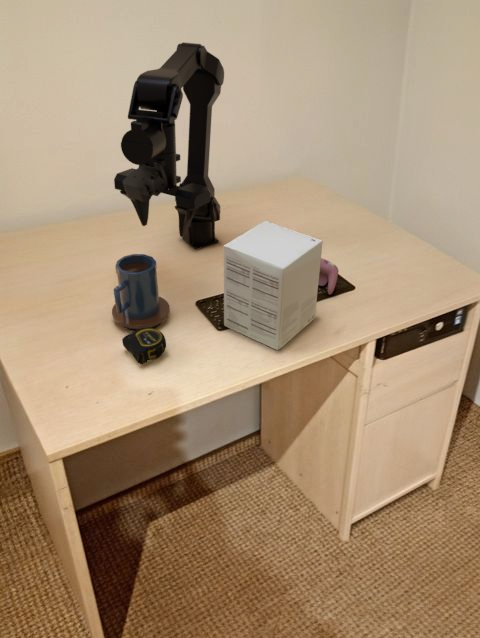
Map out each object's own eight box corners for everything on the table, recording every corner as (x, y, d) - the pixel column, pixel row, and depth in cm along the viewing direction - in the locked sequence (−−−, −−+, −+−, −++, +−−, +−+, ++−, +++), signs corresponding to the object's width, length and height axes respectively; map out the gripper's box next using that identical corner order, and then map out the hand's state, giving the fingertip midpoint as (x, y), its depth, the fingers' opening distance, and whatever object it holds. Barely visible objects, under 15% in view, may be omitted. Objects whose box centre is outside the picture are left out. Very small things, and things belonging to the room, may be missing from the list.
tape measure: (122, 350, 111) (119, 333, 109) (156, 337, 114) (154, 321, 112) (138, 370, 107) (136, 353, 104) (173, 357, 110) (172, 340, 107)
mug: (136, 291, 124) (130, 243, 118) (180, 306, 120) (178, 258, 114) (96, 320, 116) (88, 271, 109) (143, 338, 112) (138, 288, 105)
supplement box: (261, 296, 127) (264, 219, 116) (316, 319, 121) (324, 239, 110) (222, 326, 118) (221, 245, 107) (278, 351, 112) (283, 269, 101)
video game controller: (335, 294, 131) (342, 261, 130) (332, 295, 127) (338, 262, 125) (291, 285, 133) (297, 253, 132) (286, 286, 129) (292, 253, 128)
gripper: (89, 149, 109) (98, 232, 117) (174, 170, 101) (177, 256, 110) (130, 137, 117) (136, 215, 125) (212, 155, 110) (211, 237, 118)
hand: (163, 230), depth 119 cm, fingers open, 9 cm apart
